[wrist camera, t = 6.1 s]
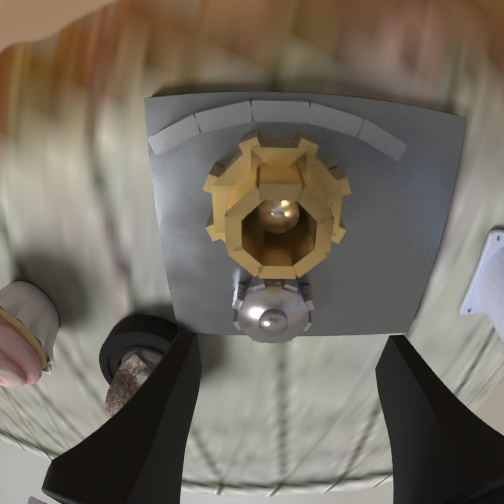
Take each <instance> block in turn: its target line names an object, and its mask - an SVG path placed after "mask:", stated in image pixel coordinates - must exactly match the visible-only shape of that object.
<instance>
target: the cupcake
mask: <svg viewBox="0 0 504 504" xmlns="http://www.w3.org/2000/svg"><path fill="white" fill-rule="evenodd" d="M58 328H59V316H58V312H57V310H56V308H55V306H54V305H53V303H52V302H51V300H50V299H49V298H48V297H47V296H46V295H45V294H44V293H43V292H42V291H41V290H40V289H38V288H37V287H36V286H34V285H32V284H30V283H28V282H25V281H16V282H13V283H10V284H9V285H7V286H6V287H4V288H3V289H1V290H0V385H3V386H5V387H19V386H22V385H24V384H27V385H28V384H34V383H36V382H37V381H38V380H39V379H40V377H41V374H42V372H44V373H48V374H52V373H51V363H53V345H54V342H55V338H56V335H57V332H58Z"/></svg>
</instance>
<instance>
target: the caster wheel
mask: <svg viewBox="0 0 504 504" xmlns="http://www.w3.org/2000/svg"><path fill="white" fill-rule="evenodd" d="M178 333H179V332H178V328H177V325H175V324H173V323H172V322H170V321H167V320H165V319H162V318H159V317H155V316H147V315H137V316H132V317H128V318H126V319H124V320H122V321H120V322H119V323H118V324H116V325H115V326H114V328H113V329H112V330H111V332H110V334H109V335H108V337H107V339H106V340H105V342H104V344H103V345H102V348H101V350H100V354H99V364H100V368H101V371H102V373H103V376H104V378H105V379H106V381H107V382H108V384H109V385H110V387H109V390H108V392H107V396H106V402H105V404H106V411H107V413H108V415H109V417H110V418H111V417H112V416H113V415H114V414H116V413H117V412H118V411H119V410H120V409H121V408H122V407H123V406H124V404H125V403H126V402H127V401H128V400H129V399H130V398H131V397H132V396H133V395H134V394H135V392H136V391H137V390H138V389H139V388H140V386H141V385H142V384H143V383H144V381H145V380H146V379H147V378H148V376H149V375H150V374H151V372H152V371H153V370H154V368H155V367H156V366H157V364H158V363H159V361H160V360H161V359H162V357H163V356H164V354H165V353H166V351H167V350H168V348H169V347H170V345H171V344H172V342H173V340H174V339H175V337H176V335H177V334H178Z"/></svg>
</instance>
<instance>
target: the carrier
mask: <svg viewBox="0 0 504 504" xmlns="http://www.w3.org/2000/svg"><path fill="white" fill-rule="evenodd" d="M144 100H145V114H146V126H147V137H148V138H147V140H148V147H149V157H150V166H151V174H152V183H153V190H154V198H155V205H156V212H157V219H158V226H159V232H160V239H161V245H162V251H163V257H164V262H165V268H166V273H167V279H168V284H169V289H170V294H171V299H172V304H173V309H174V314H175V319H176V323H177V328H178V332H190V333H204V334H224V335H248V336H249V337H251V338H252V340H254V341H257V342H260V343H263V342H265V343H285V342H288V341H292V339H293V338H295V337H296V336H339V335H368V334H388V333H404V332H408V331H409V329H410V326H411V324H412V321H413V319H414V316H415V314H416V311H417V309H418V306H419V303H420V301H421V298H422V295H423V293H424V290H425V287H426V284H427V281H428V279H429V276H430V273H431V270H432V267H433V264H434V260H435V257H436V254H437V251H438V248H439V244H440V241H441V237H442V234H443V230H444V227H445V223H446V219H447V215H448V211H449V207H450V203H451V199H452V195H453V190H454V186H455V181H456V176H457V171H458V166H459V161H460V155H461V149H462V143H463V137H464V130H465V122H466V118H465V117H462V116H459V115H456V114H452V113H447V112H443V111H438V110H434V109H429V108H424V107H419V106H414V105H408V104H403V103H397V102H390V101H384V100H377V99H369V98H362V97H353V96H344V95H333V94H321V93H305V92H283V91H223V92H201V93H186V94H174V95H163V96H154V97H148V98H145V99H144ZM257 130H258V133H259V135H260V137H261V139H291V140H294V139H295V137H296V135H297V133H298V131H299V132H301V133H303V134H306V135H308V136H310V137H312V138H314V139H315V140H316V142H317V143H318V145H319V148H318V150H317V152H316V154H317V155H318V156H319V157H320V158H321V160H322V161H323V162H324V163H325V164H326V165H327V166H328V167H329V168H330V169H333V168H336V167H340V168H341V170H342V171H343V172H344V174H345V175H346V177H347V179H348V182H349V186H350V189H351V194H348V195H345V196H343V197H342V205H341V213H340V217H341V219H342V221H343V223H344V225H345V228H346V232H345V234H344V235H343V237H342V239H341V240H340V242H339V244H338V243H335V242H333V241H331V247H330V253H327V257H326V258H325V259H324V260H322V261H321V262H320V263H318V264H317V265H316V266H314V267H313V268H312V269H310V270H309V271H308V272H306V273H305V274H304V275H302V276H301V277H300V278H299V277H298V276H297V275H296V277H295V279H264V278H259V274H258V275H257V276H256V277H254V276H253V275H252V274H251V273H249V272H248V271H247V270H246V269H245V268H243V267H242V266H241V265H240V264H239V263H237V262H236V261H235V260H234V259H233V258H231V257H230V256H229V255H228V251H226V243H225V242H224V241H223V240H222V239H218V240H216V241H212V239H211V237H210V235H209V233H208V232H207V230H206V228H205V227H206V224H207V221H208V219H209V216H210V213H211V212H213V202H212V193H209V192H206V191H204V190H203V187H204V185H205V182H206V179H207V177H208V174H209V172H210V170H211V168H212V166H213V165H214V164H216V165H219V166H222V167H223V166H224V165H225V164H226V163H227V162H228V161H229V160H230V159H231V158H232V157H234V156H235V155H236V154H237V153H238V152H239V151H240V150H241V149H240V146H239V141H240V138H241V136H244V135H246V134H249V133H251V132H254V131H257ZM302 209H303V207H302V206H301V205H300V204H299V203H298V202H297V201H282V200H264V201H262V202H261V203H260V204H259V205H258V206H257V207H256V208H255V209H254V210H252V211H253V212H254V213H255V214H256V215H257V216H258V220H259V223H260V224H261V226H262V227H263V228H264V229H265V230H267V231H269V232H272V233H277V234H278V233H285V232H288V231H289V230H291V229H292V228H293V227H294V226H295V225H296V224H297V222H298V219H299V212H300V211H301V210H302Z"/></svg>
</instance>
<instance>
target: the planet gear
mask: <svg viewBox="0 0 504 504" xmlns="http://www.w3.org/2000/svg"><path fill="white" fill-rule="evenodd" d="M239 146H240V149H241V150H240V151H239V152H238V153H237V154H236V155H235V156H234V157H232V158H231V159H230V160H229V161H228V162H227V163H226V164H225V165H224V166H223V167H222V166H219V165H216V164H214V165H213V166H212V168H211V170H210V172H209V174H208V177H207V179H206V182H205V185H204V187H203V190H204V191H206V192H209V193H212V202H213V212H211V213H210V216H209V219H208V221H207V224H206V227H205V228H206V230H207V232H208V233H209V235H210V237H211V239H212V241H216V240H218V239H222V240H223V241H224V242H225V243H226V251H228V255H229V256H230V257H231V258H233V259H234V260H235V261H236V262H237V263H239V264H240V265H241V266H242V267H243V268H245V269H246V270H247V271H248V272H249V273H251V274H252V275H253V276H254V277H256V276H257V275H258V274H259V278H264V279H295V277H296V275H297V276H298V277H299V278H300V277H301V276H302V275H304V274H305V273H306V272H308V271H309V270H310V269H312V268H313V267H314V266H316V265H317V264H318V263H320V262H321V261H322V260H324V259H325V258H326V257H327V253H330V247H331V241H333V242H335V243H338V244H339V242H340V240H341V239H342V237H343V235H344V234H345V232H346V228H345V225H344V223H343V221H342V219H341V217H340V213H341V205H342V197H343V196H345V195H348V194H351V189H350V186H349V182H348V179H347V177H346V175H345V174H344V172H343V171H342V170H341V168H340V167H336V168H333V169H330V168H329V167H328V166H327V165H326V164H325V163H324V162H323V161H322V160H321V158H320V157H319V156H318V155H317V154H316V152H317V150H318V148H319V145H318V143H317V142H316V140H315V139H314V138H312V137H310V136H308V135H306V134H303V133H301V132H299V131H298V133H297V135H296V137H295V139H294V140H291V139H261V137H260V135H259V133H258V130H257V131H254V132H251V133H249V134H246V135H244V136H241V138H240V141H239ZM264 200H282V201H297V202H298V203H299V204H300V205H301V206H302V207H303V209H302V210H301V211H300V212H299V219H298V222H297V224H296V225H295V226H294V227H293V228H292V229H291V230H289V231H288V232H285V233H278V234H277V233H272V232H269V231H267V230H265V229H264V228H263V227H262V226H261V224H260V223H259V220H258V216H257V215H256V214H255V213H254V212H253V211H252V210H254V209H255V208H256V207H257V206H258V205H259V204H260V203H261V202H262V201H264Z"/></svg>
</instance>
